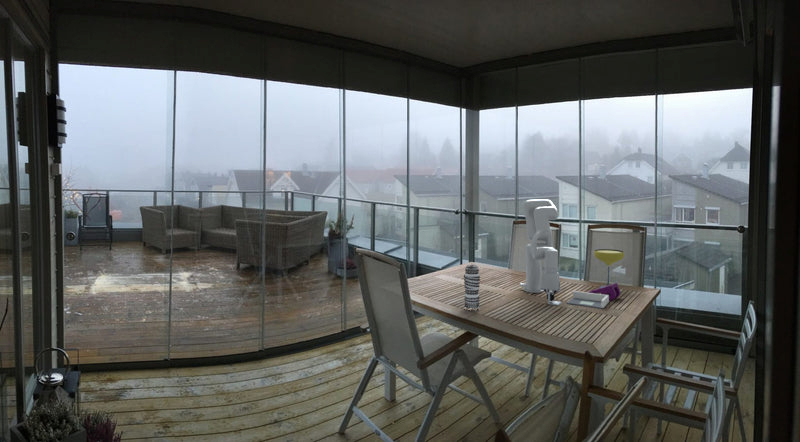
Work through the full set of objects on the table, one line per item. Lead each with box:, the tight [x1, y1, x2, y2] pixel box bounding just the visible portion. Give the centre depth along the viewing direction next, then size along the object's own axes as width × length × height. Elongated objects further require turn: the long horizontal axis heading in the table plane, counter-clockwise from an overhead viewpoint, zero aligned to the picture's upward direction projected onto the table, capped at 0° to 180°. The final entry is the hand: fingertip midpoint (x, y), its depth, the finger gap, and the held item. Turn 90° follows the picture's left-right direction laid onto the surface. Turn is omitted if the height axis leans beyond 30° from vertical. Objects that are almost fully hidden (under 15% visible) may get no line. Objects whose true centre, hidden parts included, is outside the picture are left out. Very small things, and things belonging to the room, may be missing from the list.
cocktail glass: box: [593, 248, 625, 288], centre depth 307 cm, size 18×18×25 cm
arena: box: [566, 290, 610, 310], centre depth 271 cm, size 20×15×5 cm
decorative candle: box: [463, 264, 481, 309], centre depth 262 cm, size 9×9×25 cm
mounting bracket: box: [586, 282, 621, 302], centre depth 284 cm, size 10×8×18 cm
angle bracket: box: [547, 290, 562, 306], centre depth 271 cm, size 6×6×7 cm
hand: (550, 300), depth 273 cm, fingers closed
